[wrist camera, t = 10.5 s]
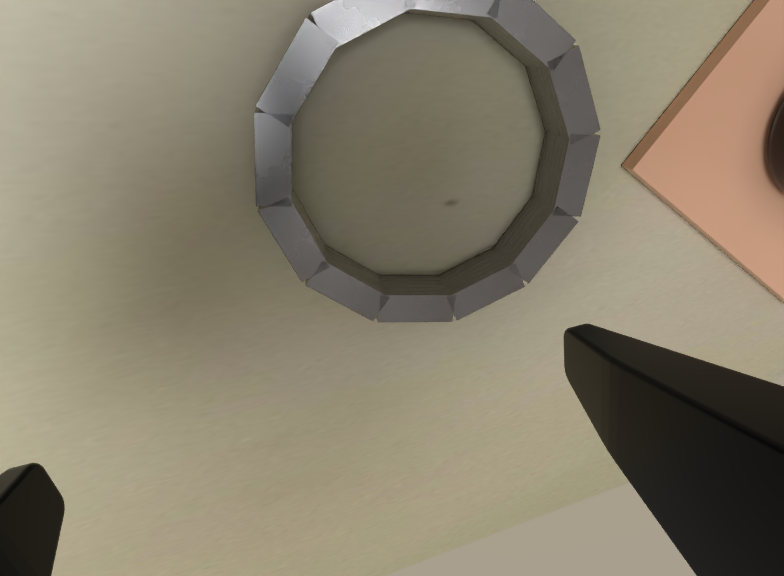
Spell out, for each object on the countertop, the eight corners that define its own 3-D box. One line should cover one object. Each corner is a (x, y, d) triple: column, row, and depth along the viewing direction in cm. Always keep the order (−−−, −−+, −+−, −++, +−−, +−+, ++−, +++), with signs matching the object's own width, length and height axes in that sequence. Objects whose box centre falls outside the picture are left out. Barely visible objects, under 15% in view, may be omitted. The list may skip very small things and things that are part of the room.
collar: (380, -114, 17) (391, -133, 15) (629, 112, 21) (660, 119, 20) (197, 207, 20) (188, 223, 18) (448, 343, 25) (461, 367, 23)
